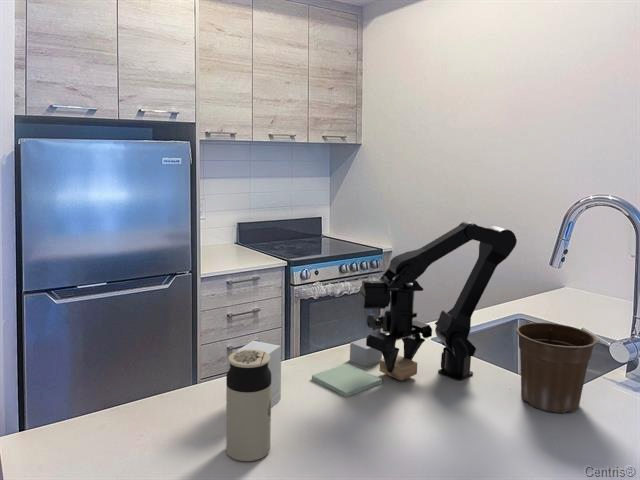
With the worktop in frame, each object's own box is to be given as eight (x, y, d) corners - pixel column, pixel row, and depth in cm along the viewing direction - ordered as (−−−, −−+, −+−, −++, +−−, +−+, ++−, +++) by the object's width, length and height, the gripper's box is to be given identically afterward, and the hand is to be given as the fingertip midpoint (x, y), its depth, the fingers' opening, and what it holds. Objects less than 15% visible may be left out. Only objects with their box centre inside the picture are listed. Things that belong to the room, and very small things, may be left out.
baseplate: (381, 382, 124) (382, 378, 124) (346, 397, 116) (346, 392, 116) (346, 366, 133) (347, 363, 133) (311, 379, 125) (311, 375, 125)
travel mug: (220, 460, 91) (219, 363, 88) (234, 436, 99) (235, 347, 96) (263, 465, 90) (264, 367, 87) (275, 441, 97) (276, 350, 95)
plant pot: (509, 409, 113) (515, 339, 110) (511, 380, 128) (517, 318, 125) (592, 425, 107) (601, 351, 104) (584, 393, 122) (592, 328, 119)
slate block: (381, 361, 137) (382, 344, 137) (365, 367, 133) (366, 349, 133) (365, 355, 142) (366, 337, 141) (349, 360, 138) (350, 342, 137)
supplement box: (281, 399, 114) (282, 345, 112) (264, 414, 108) (265, 356, 106) (253, 392, 117) (253, 339, 115) (234, 406, 111) (235, 350, 109)
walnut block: (416, 374, 127) (417, 362, 127) (401, 380, 123) (401, 368, 123) (395, 365, 132) (395, 354, 132) (379, 371, 128) (379, 359, 128)
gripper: (400, 294, 137) (397, 350, 140) (351, 306, 125) (348, 367, 128) (435, 304, 129) (431, 363, 132) (385, 318, 117) (382, 382, 119)
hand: (398, 368), depth 128 cm, fingers closed on walnut block, 6 cm apart
